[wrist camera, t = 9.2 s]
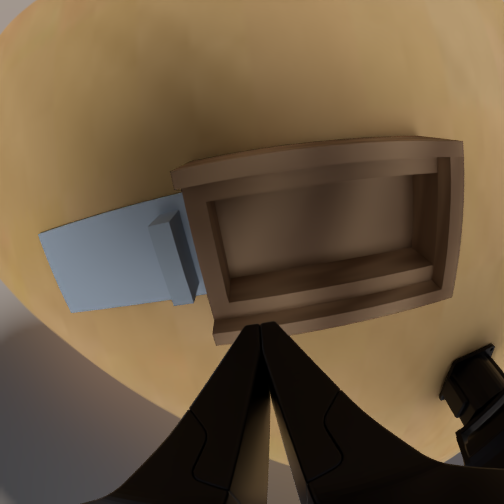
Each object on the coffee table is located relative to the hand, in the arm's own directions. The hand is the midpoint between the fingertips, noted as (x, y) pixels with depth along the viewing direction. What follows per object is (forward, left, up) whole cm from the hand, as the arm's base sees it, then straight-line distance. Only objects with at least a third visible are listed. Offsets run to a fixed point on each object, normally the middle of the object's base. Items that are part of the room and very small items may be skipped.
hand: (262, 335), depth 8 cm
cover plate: (+9, +1, -11) cm, 14 cm away
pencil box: (-4, 0, -10) cm, 11 cm away
